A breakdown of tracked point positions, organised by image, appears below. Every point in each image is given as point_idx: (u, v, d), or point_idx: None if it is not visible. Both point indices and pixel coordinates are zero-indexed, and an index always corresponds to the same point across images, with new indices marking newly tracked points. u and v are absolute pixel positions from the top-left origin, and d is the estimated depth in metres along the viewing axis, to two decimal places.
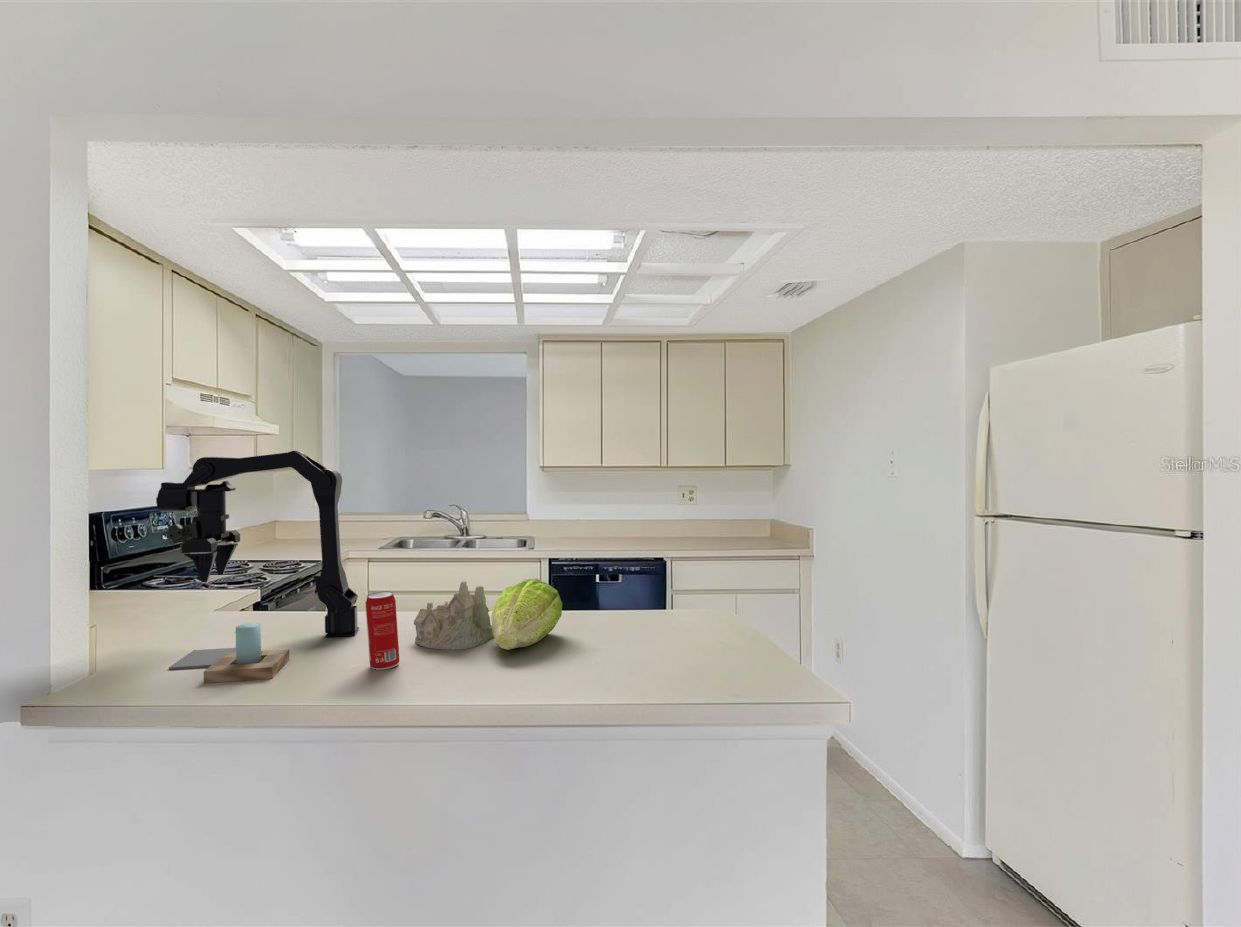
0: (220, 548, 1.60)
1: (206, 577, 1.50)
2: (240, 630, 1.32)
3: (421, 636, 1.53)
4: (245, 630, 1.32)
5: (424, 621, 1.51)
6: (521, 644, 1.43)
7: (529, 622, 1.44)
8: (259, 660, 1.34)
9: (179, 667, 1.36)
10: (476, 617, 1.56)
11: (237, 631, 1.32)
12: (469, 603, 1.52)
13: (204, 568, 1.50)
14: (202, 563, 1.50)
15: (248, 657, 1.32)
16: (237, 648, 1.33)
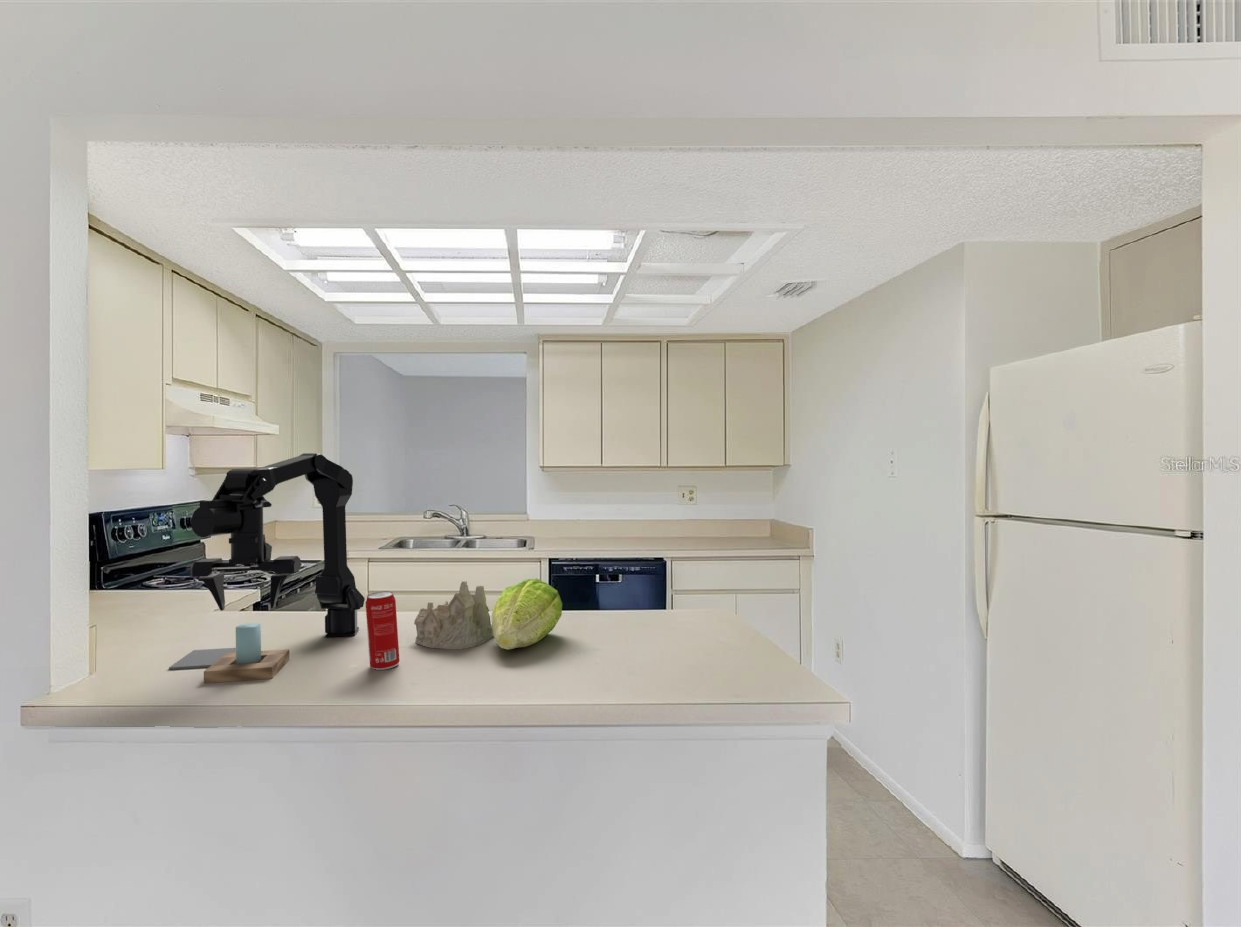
0: None
1: None
2: (240, 630, 1.32)
3: (422, 636, 1.53)
4: (245, 630, 1.32)
5: (425, 621, 1.52)
6: (521, 644, 1.43)
7: (529, 622, 1.44)
8: (259, 660, 1.34)
9: (179, 667, 1.36)
10: (476, 617, 1.56)
11: (237, 631, 1.32)
12: (470, 603, 1.53)
13: None
14: None
15: (248, 657, 1.32)
16: (237, 648, 1.33)
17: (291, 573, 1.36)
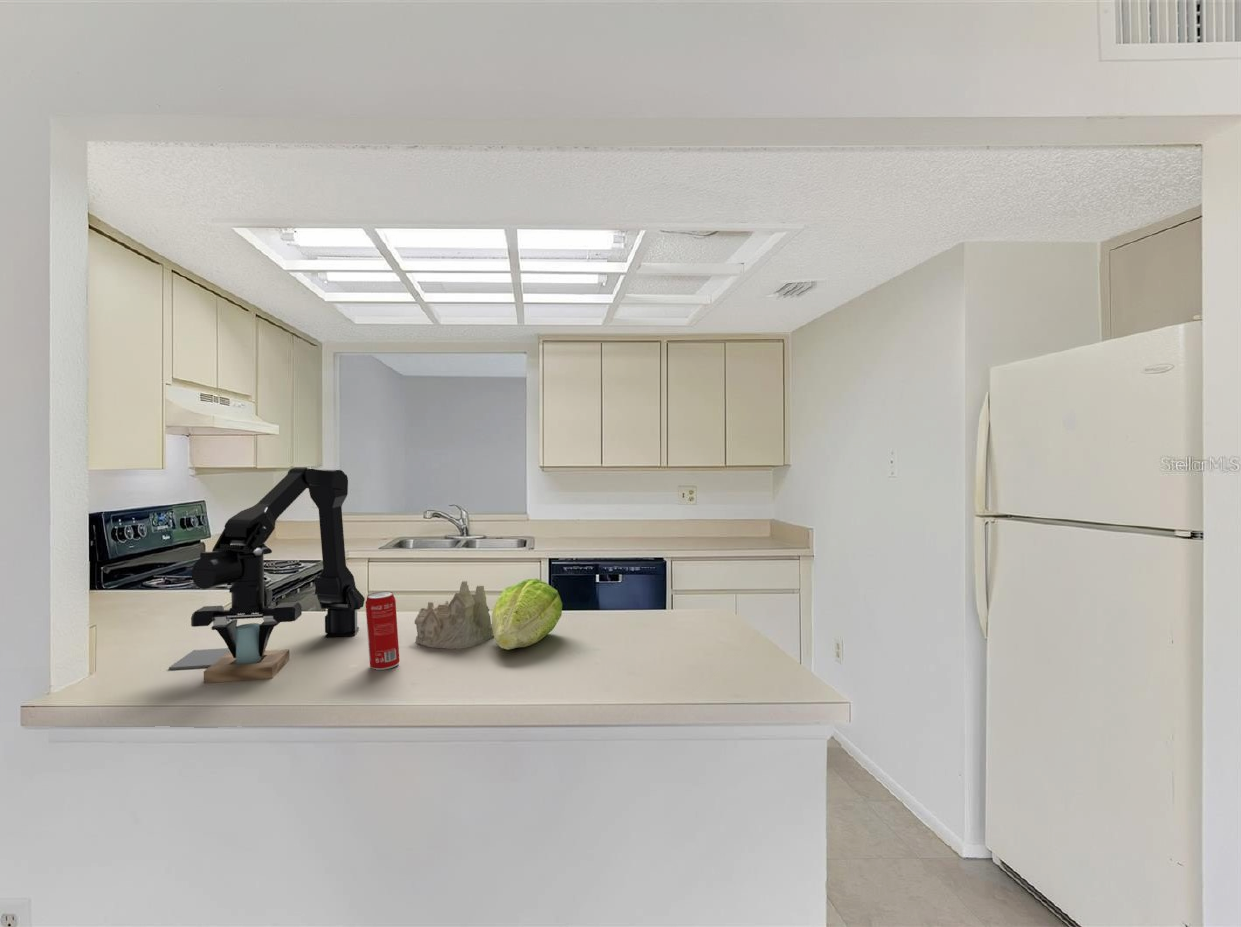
0: None
1: None
2: (240, 630, 1.32)
3: (422, 635, 1.54)
4: (245, 630, 1.32)
5: (425, 620, 1.52)
6: (521, 644, 1.43)
7: (529, 623, 1.44)
8: (259, 660, 1.34)
9: (179, 667, 1.36)
10: (477, 616, 1.57)
11: (237, 631, 1.32)
12: (470, 603, 1.53)
13: None
14: None
15: (248, 657, 1.32)
16: (237, 648, 1.33)
17: None
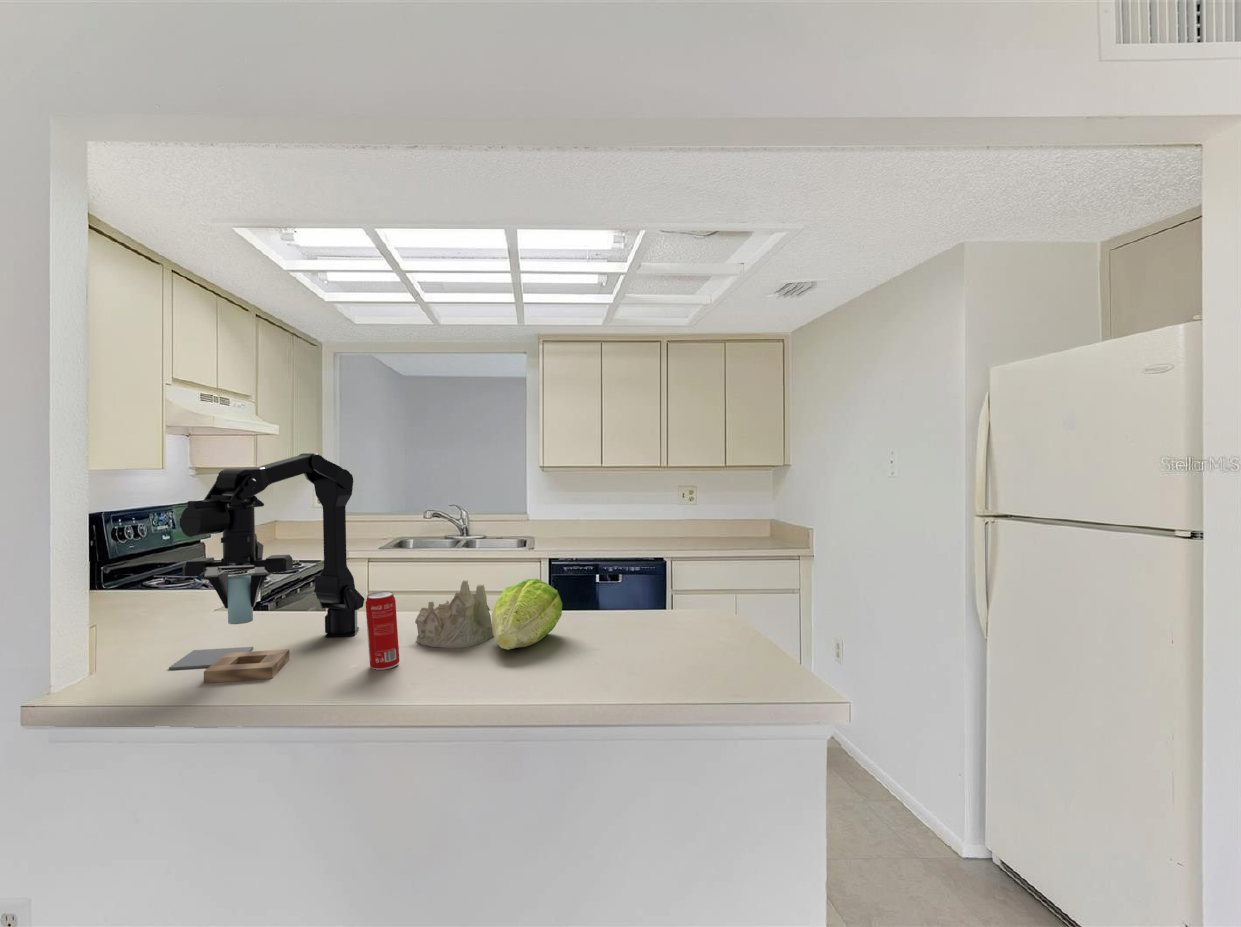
0: None
1: None
2: (232, 580, 1.34)
3: (423, 635, 1.54)
4: (237, 580, 1.34)
5: (426, 620, 1.53)
6: (521, 644, 1.43)
7: (529, 622, 1.44)
8: (251, 611, 1.36)
9: (179, 667, 1.36)
10: (477, 616, 1.57)
11: (229, 581, 1.34)
12: (471, 602, 1.54)
13: None
14: None
15: (240, 607, 1.34)
16: (229, 598, 1.34)
17: None
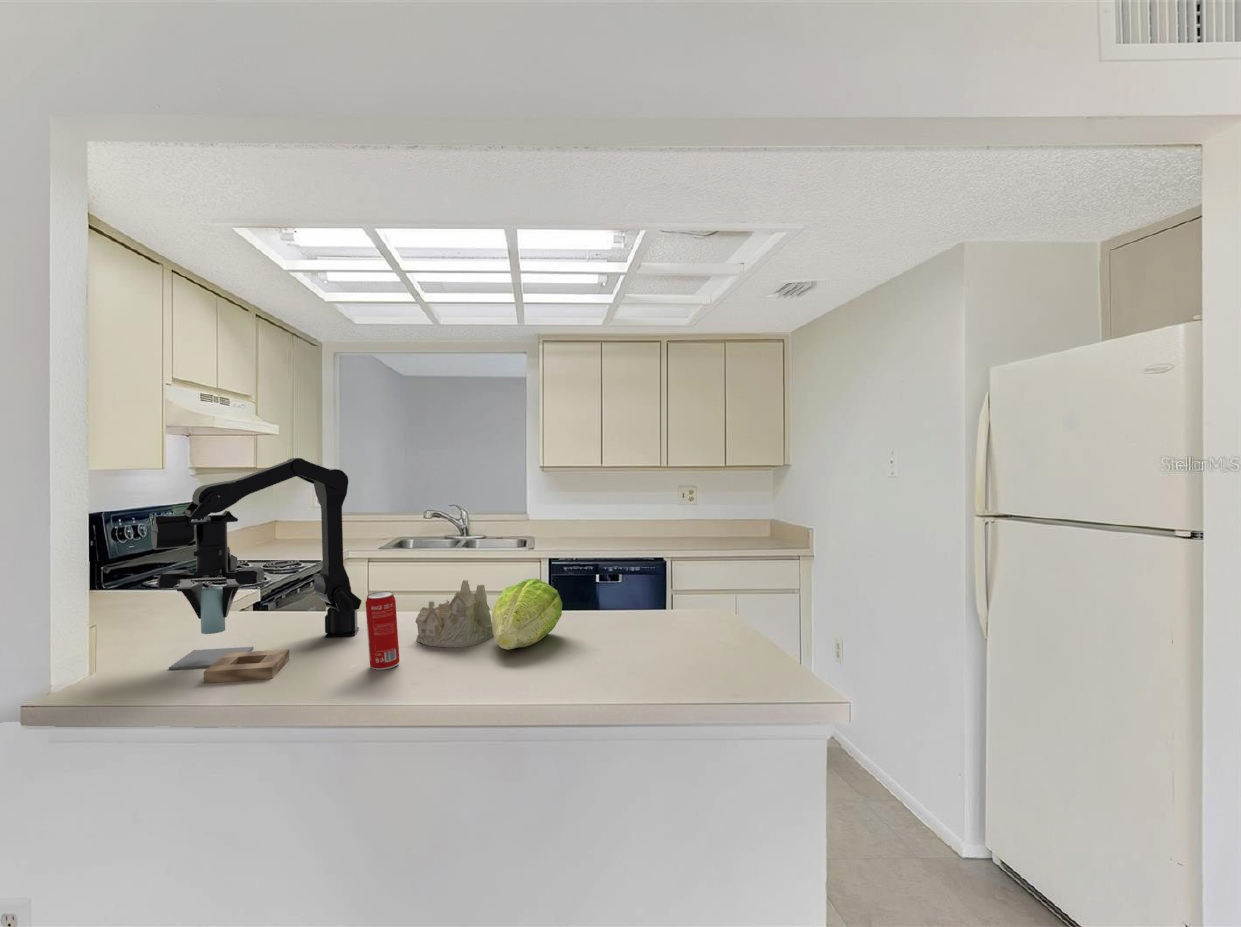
0: None
1: None
2: (204, 592, 1.40)
3: (423, 634, 1.54)
4: (209, 592, 1.40)
5: (426, 619, 1.53)
6: (521, 644, 1.43)
7: (529, 623, 1.44)
8: (223, 621, 1.42)
9: (179, 667, 1.36)
10: (477, 615, 1.58)
11: (201, 593, 1.40)
12: (471, 602, 1.54)
13: None
14: None
15: (212, 617, 1.40)
16: (201, 609, 1.40)
17: None
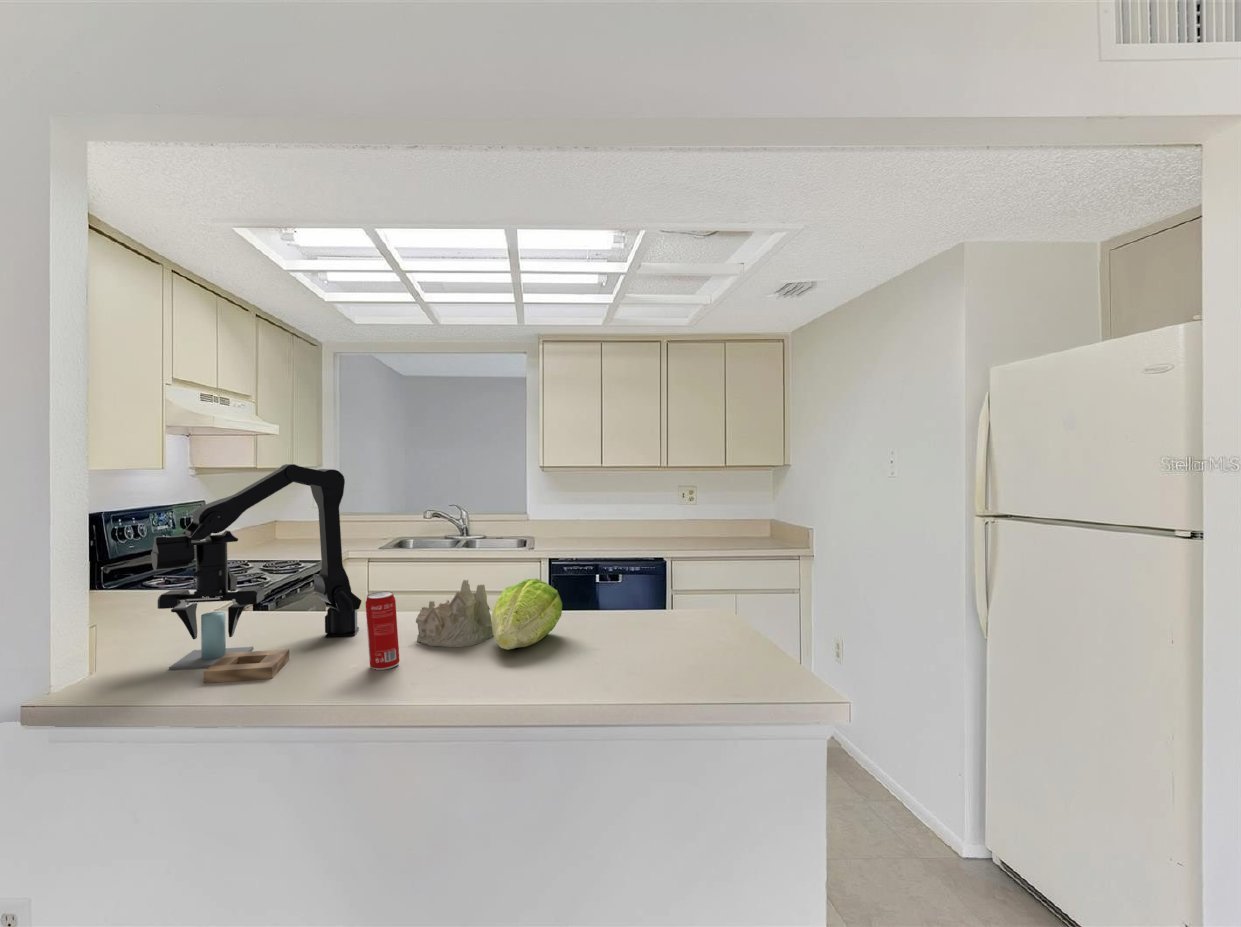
0: None
1: None
2: (205, 618, 1.40)
3: (423, 634, 1.55)
4: (210, 618, 1.40)
5: (426, 619, 1.53)
6: (521, 644, 1.43)
7: (529, 622, 1.44)
8: (223, 646, 1.42)
9: (179, 667, 1.36)
10: (477, 615, 1.58)
11: (202, 618, 1.40)
12: (471, 601, 1.54)
13: None
14: None
15: (212, 643, 1.40)
16: (202, 635, 1.40)
17: None
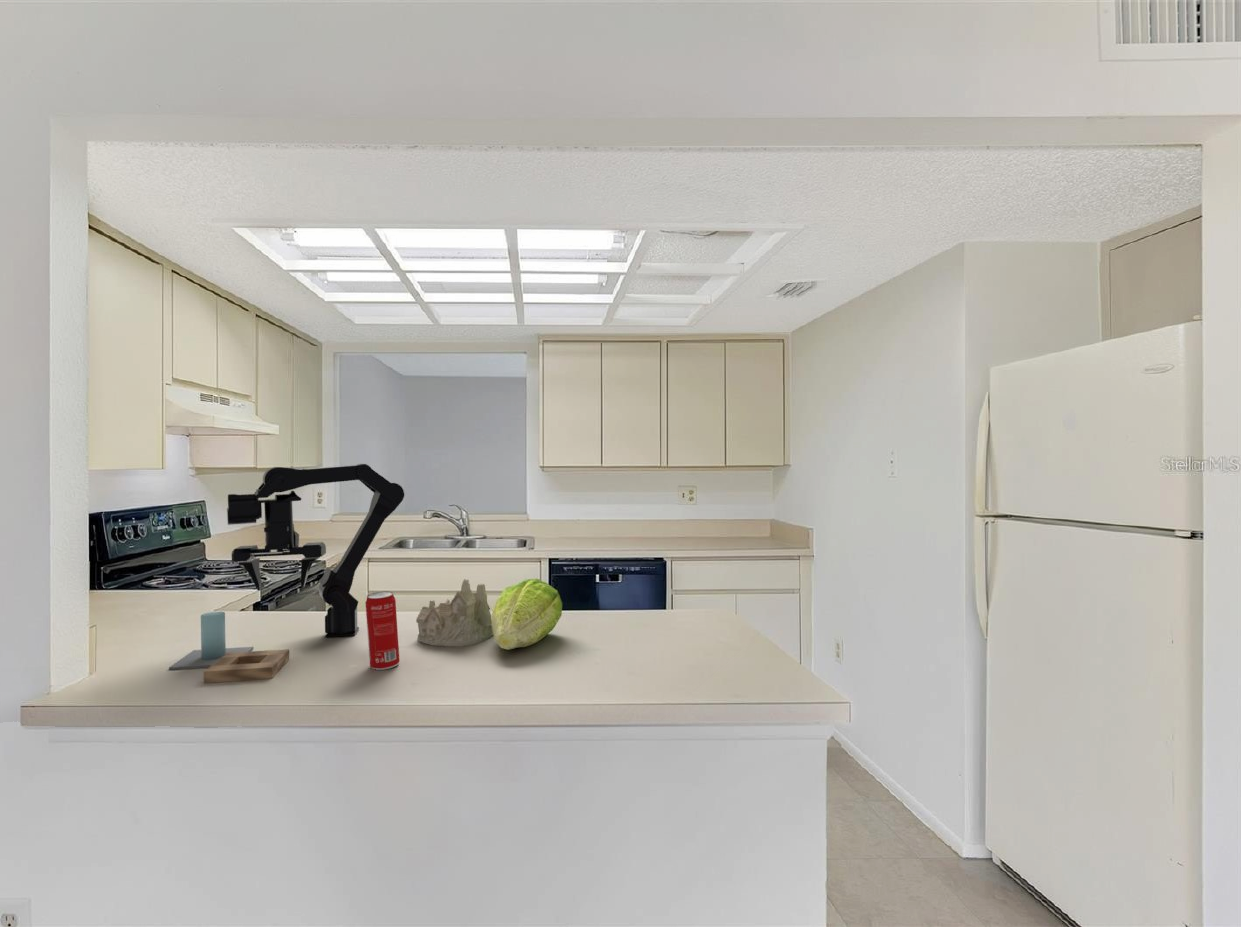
0: None
1: None
2: (205, 618, 1.40)
3: (423, 633, 1.55)
4: (209, 618, 1.40)
5: (427, 619, 1.54)
6: (521, 644, 1.43)
7: (529, 623, 1.44)
8: (223, 646, 1.42)
9: (179, 667, 1.36)
10: (478, 614, 1.58)
11: (202, 619, 1.40)
12: (471, 601, 1.55)
13: None
14: None
15: (212, 643, 1.40)
16: (202, 635, 1.40)
17: (318, 557, 1.57)
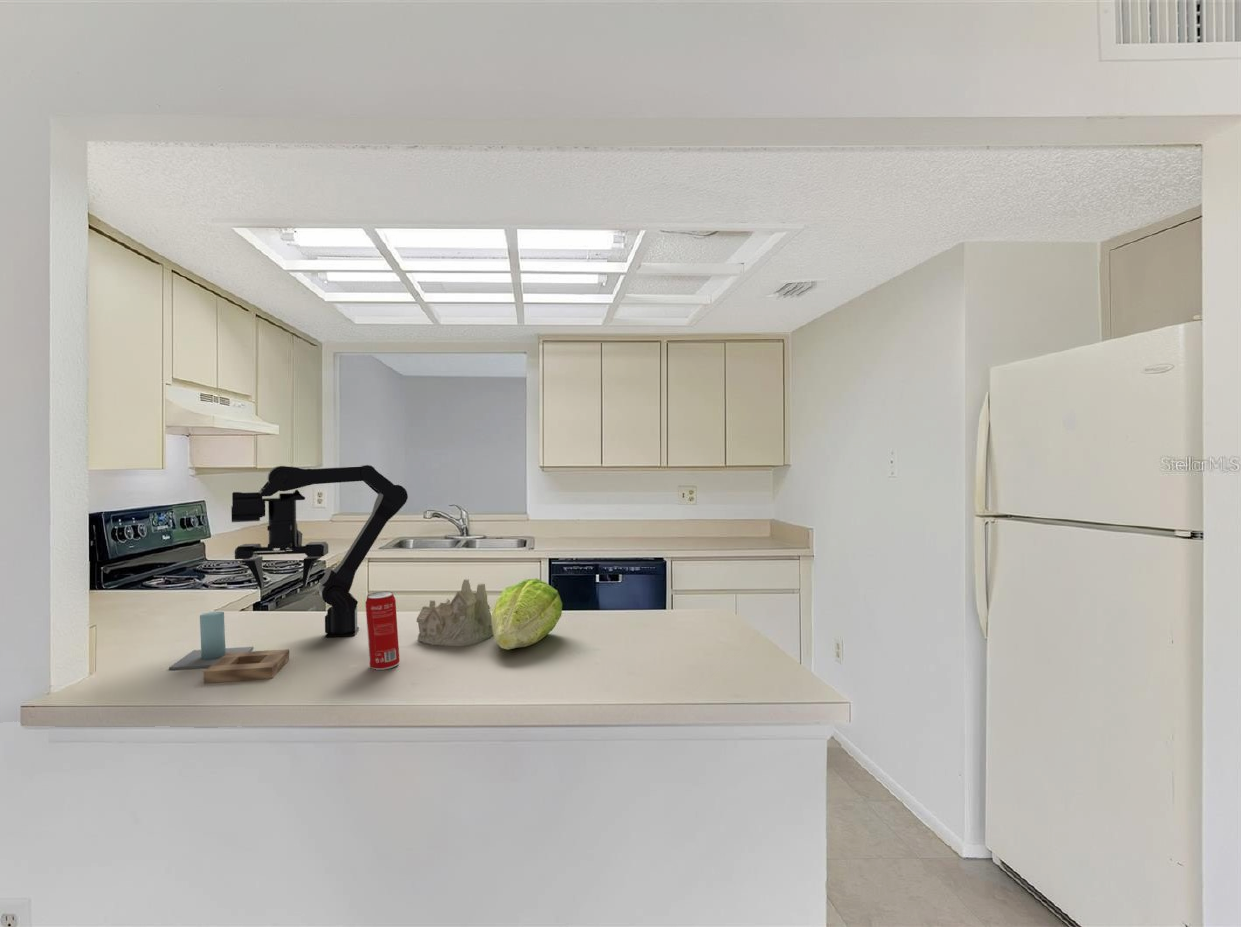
0: None
1: None
2: (204, 618, 1.40)
3: (424, 633, 1.55)
4: (209, 617, 1.40)
5: (427, 618, 1.54)
6: (521, 644, 1.43)
7: (529, 622, 1.44)
8: (223, 646, 1.42)
9: (179, 667, 1.36)
10: (478, 614, 1.59)
11: (201, 619, 1.40)
12: (472, 601, 1.55)
13: None
14: None
15: (212, 643, 1.40)
16: (201, 635, 1.40)
17: (320, 556, 1.57)
